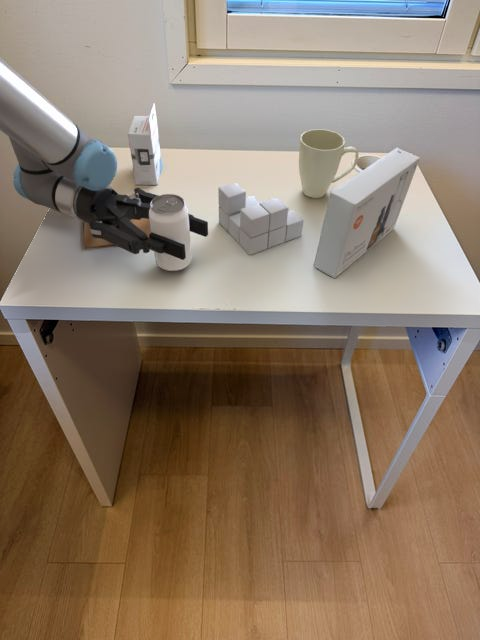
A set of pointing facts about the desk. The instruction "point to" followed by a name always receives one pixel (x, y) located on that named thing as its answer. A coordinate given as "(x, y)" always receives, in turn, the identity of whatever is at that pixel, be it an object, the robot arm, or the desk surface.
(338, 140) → the mug
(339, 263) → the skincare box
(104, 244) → the wooden coaster
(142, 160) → the ink box
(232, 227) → the stacked white cubes
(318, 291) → the desk surface
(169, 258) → the can
